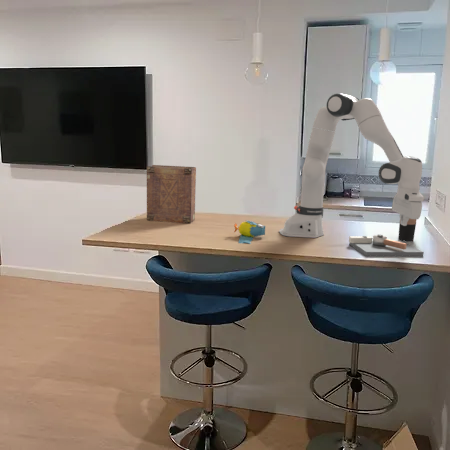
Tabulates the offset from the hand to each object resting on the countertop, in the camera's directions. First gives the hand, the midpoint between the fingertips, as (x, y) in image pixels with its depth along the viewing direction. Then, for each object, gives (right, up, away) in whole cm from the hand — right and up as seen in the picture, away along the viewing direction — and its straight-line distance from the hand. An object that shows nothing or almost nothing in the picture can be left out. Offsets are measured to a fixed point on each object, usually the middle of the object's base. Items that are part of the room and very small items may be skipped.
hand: (403, 225), depth 210 cm
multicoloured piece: (-5, -10, +3) cm, 12 cm away
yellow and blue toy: (-67, -7, +23) cm, 71 cm away
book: (-109, +2, +55) cm, 122 cm away
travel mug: (+12, -8, +27) cm, 31 cm away
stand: (-6, -12, +6) cm, 14 cm away
